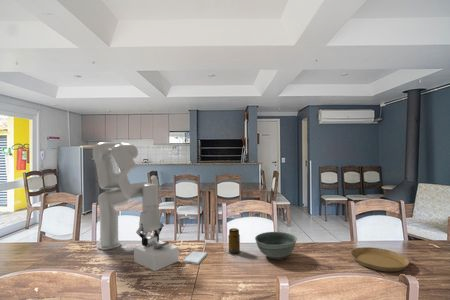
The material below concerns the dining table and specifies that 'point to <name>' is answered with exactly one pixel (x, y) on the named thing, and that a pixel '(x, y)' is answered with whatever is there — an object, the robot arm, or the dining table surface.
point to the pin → (151, 240)
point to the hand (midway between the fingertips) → (150, 243)
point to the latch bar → (160, 245)
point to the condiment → (234, 242)
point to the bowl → (276, 244)
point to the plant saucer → (379, 259)
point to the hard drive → (194, 257)
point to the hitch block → (156, 255)
